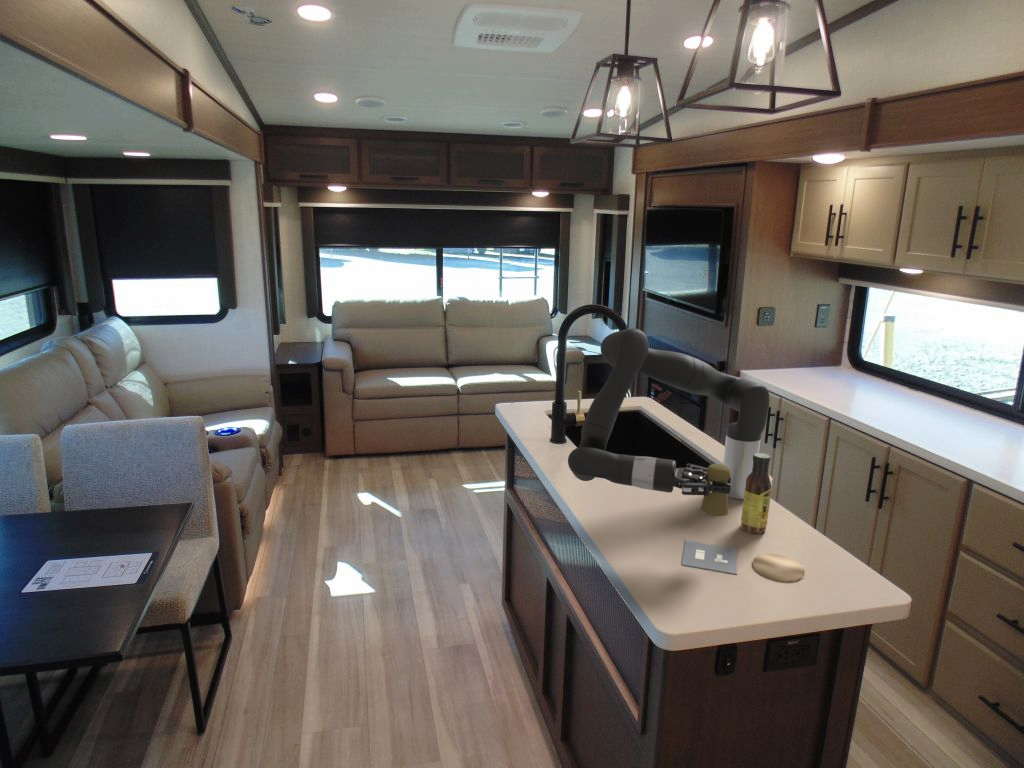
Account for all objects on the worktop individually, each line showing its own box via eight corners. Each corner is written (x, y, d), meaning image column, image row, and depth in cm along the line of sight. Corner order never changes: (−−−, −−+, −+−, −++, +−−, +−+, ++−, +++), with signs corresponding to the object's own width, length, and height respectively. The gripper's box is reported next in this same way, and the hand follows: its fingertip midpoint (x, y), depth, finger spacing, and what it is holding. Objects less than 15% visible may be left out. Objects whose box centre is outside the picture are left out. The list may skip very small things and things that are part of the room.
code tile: (685, 541, 164) (685, 540, 164) (736, 549, 160) (736, 548, 160) (681, 565, 153) (681, 564, 153) (736, 574, 149) (736, 573, 149)
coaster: (752, 553, 159) (752, 550, 159) (802, 561, 156) (802, 558, 156) (753, 576, 149) (753, 573, 149) (806, 585, 146) (806, 583, 145)
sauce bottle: (764, 536, 167) (774, 462, 162) (738, 531, 170) (747, 457, 165) (767, 526, 173) (776, 453, 168) (741, 521, 175) (750, 449, 170)
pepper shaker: (731, 516, 151) (736, 471, 148) (704, 515, 151) (709, 470, 148) (723, 505, 157) (728, 461, 154) (697, 504, 157) (702, 460, 154)
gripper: (651, 469, 149) (732, 481, 144) (658, 448, 162) (732, 458, 157) (648, 500, 151) (728, 513, 146) (655, 477, 164) (729, 488, 159)
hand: (730, 484), depth 151 cm, fingers closed on pepper shaker, 4 cm apart
